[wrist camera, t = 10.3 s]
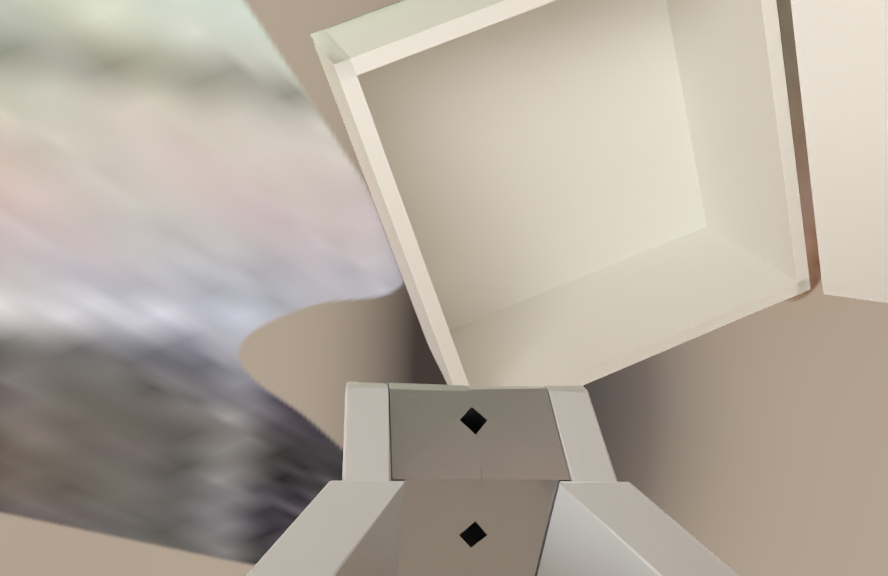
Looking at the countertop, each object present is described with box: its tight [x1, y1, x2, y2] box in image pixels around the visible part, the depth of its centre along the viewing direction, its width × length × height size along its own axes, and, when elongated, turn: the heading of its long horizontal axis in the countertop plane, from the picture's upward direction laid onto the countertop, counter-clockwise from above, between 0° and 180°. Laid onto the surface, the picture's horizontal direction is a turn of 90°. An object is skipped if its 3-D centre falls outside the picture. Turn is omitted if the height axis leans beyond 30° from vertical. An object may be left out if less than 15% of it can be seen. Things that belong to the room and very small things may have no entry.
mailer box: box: [310, 0, 811, 387], centre depth 36 cm, size 16×16×8 cm
